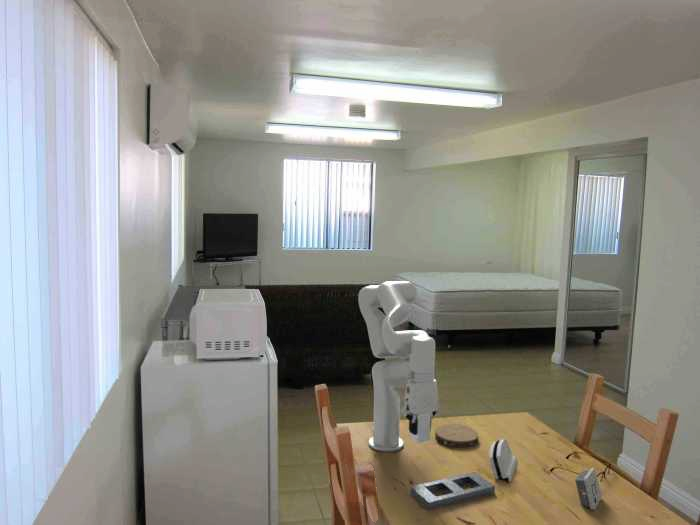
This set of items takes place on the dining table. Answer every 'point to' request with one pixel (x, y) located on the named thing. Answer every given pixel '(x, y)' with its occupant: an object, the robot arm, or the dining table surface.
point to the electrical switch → (588, 488)
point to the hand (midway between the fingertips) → (419, 431)
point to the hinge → (502, 460)
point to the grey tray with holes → (452, 490)
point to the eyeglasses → (591, 456)
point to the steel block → (422, 428)
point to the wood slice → (456, 436)
